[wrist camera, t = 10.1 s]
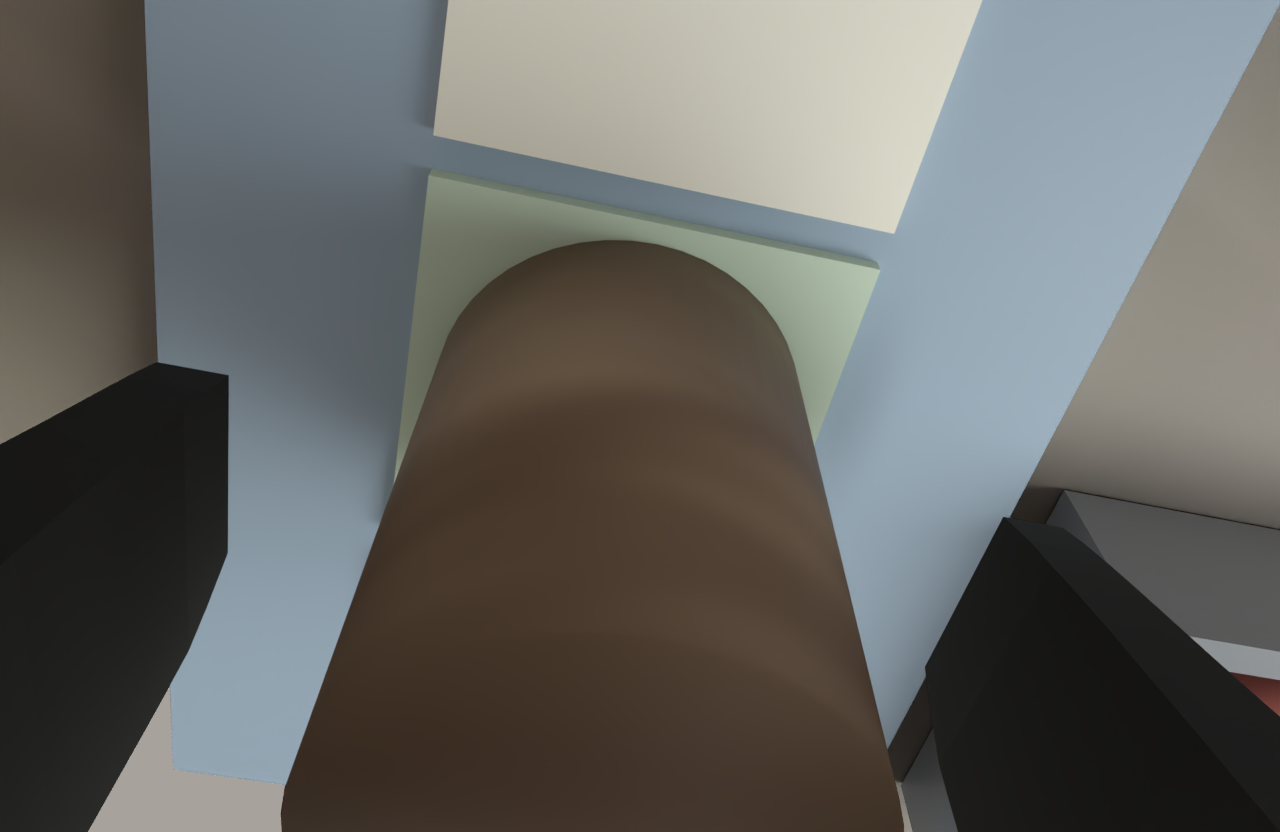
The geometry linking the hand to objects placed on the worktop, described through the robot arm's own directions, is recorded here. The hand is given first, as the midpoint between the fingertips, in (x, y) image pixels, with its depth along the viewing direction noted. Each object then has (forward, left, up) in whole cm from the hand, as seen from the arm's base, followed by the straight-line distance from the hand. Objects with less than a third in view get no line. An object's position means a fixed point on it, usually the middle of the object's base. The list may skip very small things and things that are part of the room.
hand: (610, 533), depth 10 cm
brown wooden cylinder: (0, 0, -2) cm, 2 cm away
